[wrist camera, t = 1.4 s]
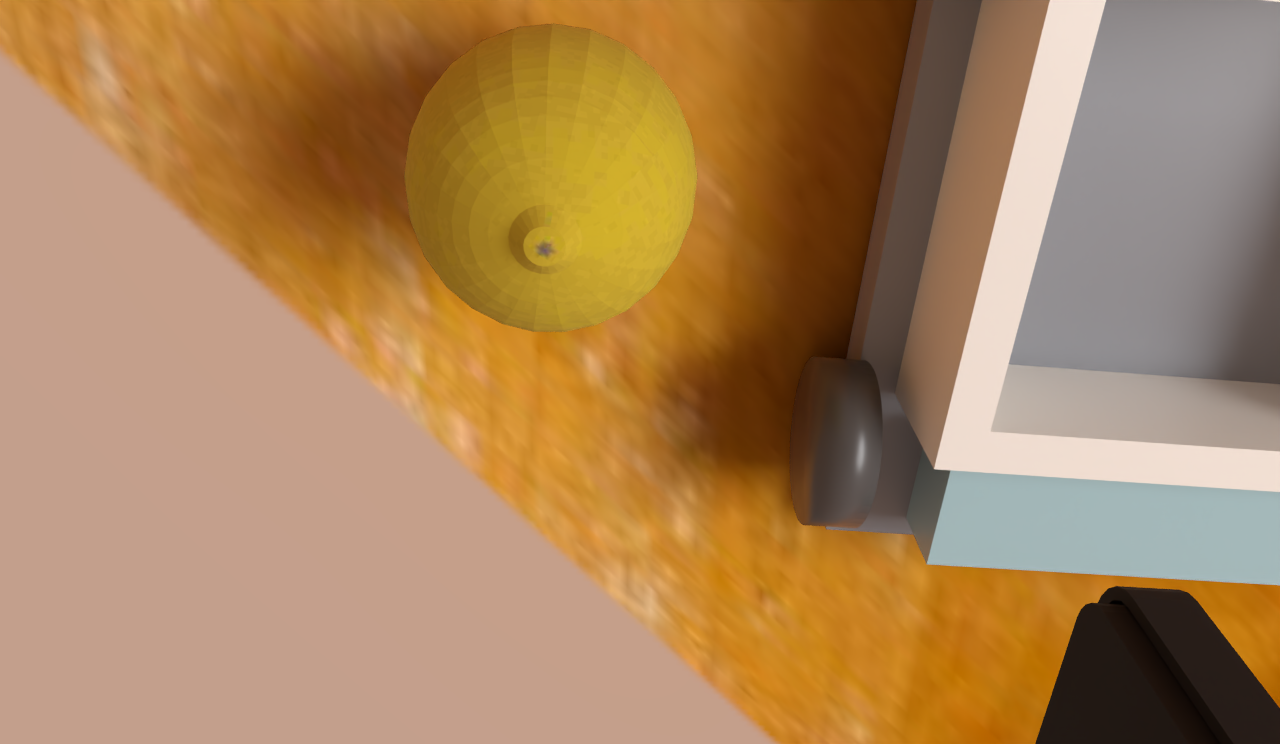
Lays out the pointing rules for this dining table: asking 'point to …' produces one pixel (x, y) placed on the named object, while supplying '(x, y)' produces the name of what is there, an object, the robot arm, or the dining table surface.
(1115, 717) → the robot arm
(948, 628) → the dining table surface
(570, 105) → the lemon
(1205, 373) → the chassis
